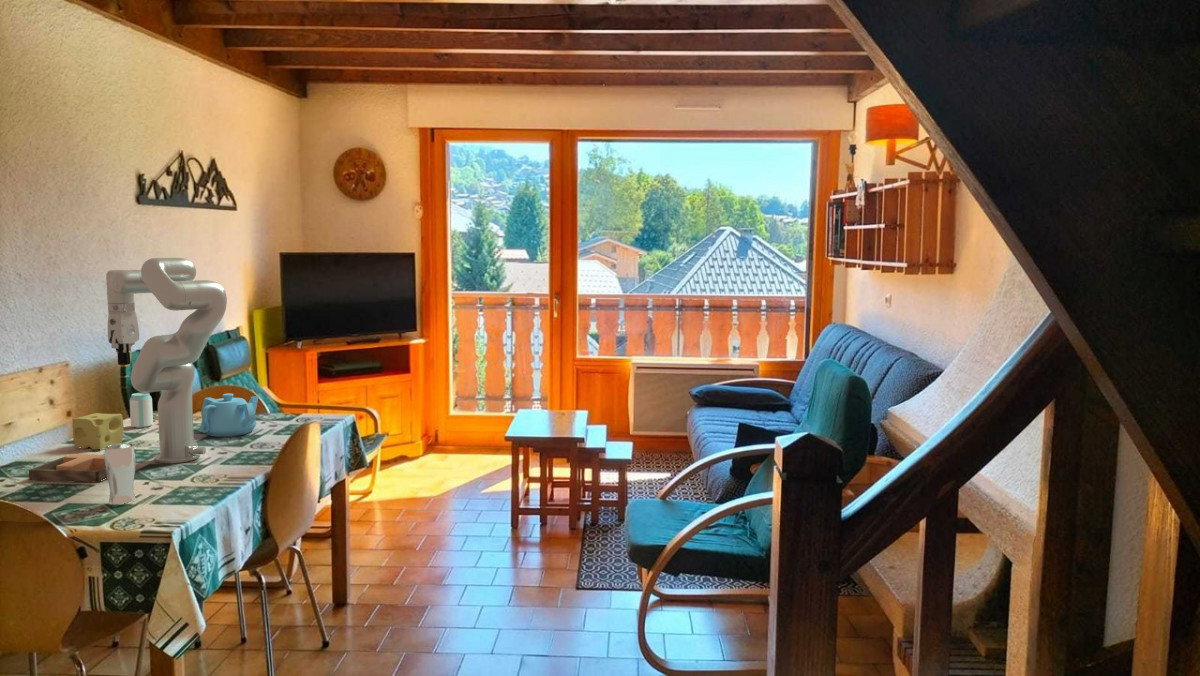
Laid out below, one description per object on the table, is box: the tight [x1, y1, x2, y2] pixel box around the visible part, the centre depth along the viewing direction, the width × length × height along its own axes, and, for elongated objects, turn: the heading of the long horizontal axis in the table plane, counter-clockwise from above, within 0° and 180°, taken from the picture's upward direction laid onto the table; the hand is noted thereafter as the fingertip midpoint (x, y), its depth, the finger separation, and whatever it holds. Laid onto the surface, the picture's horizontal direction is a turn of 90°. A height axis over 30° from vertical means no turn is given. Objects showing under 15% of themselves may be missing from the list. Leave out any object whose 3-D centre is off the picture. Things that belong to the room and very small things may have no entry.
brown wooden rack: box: [28, 455, 107, 482], centre depth 238 cm, size 20×16×3 cm
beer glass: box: [103, 442, 137, 505], centre depth 212 cm, size 7×7×15 cm
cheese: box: [72, 412, 124, 450], centre depth 270 cm, size 10×11×10 cm
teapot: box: [199, 393, 259, 438], centre depth 291 cm, size 19×19×14 cm
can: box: [129, 392, 154, 429], centre depth 298 cm, size 7×7×12 cm
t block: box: [56, 453, 105, 471], centre depth 238 cm, size 14×13×4 cm
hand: (124, 364), depth 267 cm, fingers closed
